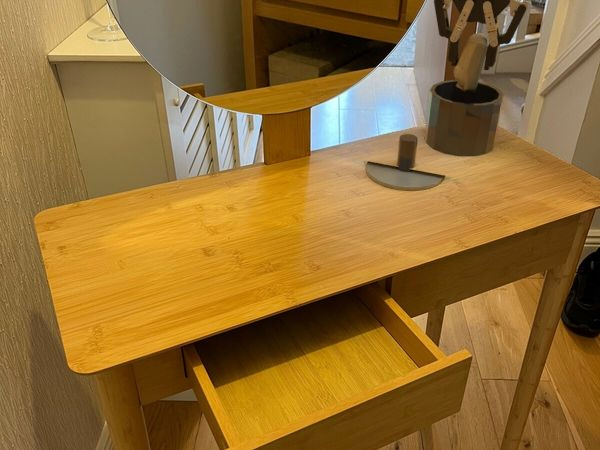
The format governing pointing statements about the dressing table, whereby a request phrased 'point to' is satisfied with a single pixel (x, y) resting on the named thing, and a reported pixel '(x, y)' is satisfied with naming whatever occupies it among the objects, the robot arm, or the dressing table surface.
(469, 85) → the beige rounded block
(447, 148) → the pot
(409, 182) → the lid
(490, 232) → the dressing table surface
